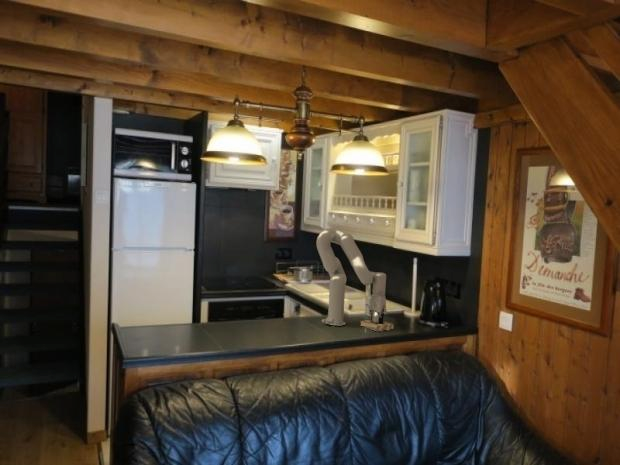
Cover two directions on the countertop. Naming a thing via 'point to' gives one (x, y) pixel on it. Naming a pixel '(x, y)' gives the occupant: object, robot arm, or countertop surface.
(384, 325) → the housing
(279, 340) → the countertop surface
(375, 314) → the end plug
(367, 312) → the supplement box
